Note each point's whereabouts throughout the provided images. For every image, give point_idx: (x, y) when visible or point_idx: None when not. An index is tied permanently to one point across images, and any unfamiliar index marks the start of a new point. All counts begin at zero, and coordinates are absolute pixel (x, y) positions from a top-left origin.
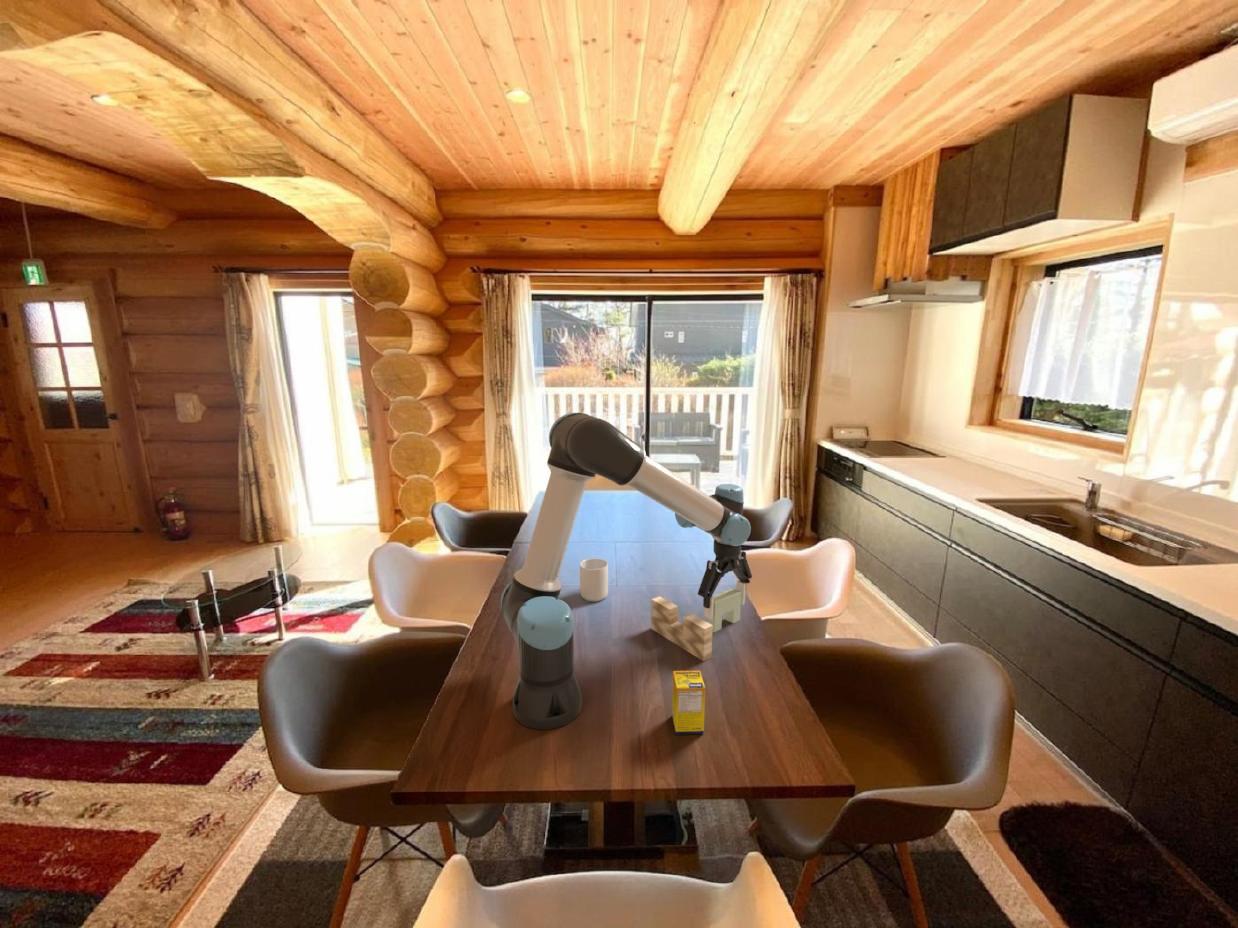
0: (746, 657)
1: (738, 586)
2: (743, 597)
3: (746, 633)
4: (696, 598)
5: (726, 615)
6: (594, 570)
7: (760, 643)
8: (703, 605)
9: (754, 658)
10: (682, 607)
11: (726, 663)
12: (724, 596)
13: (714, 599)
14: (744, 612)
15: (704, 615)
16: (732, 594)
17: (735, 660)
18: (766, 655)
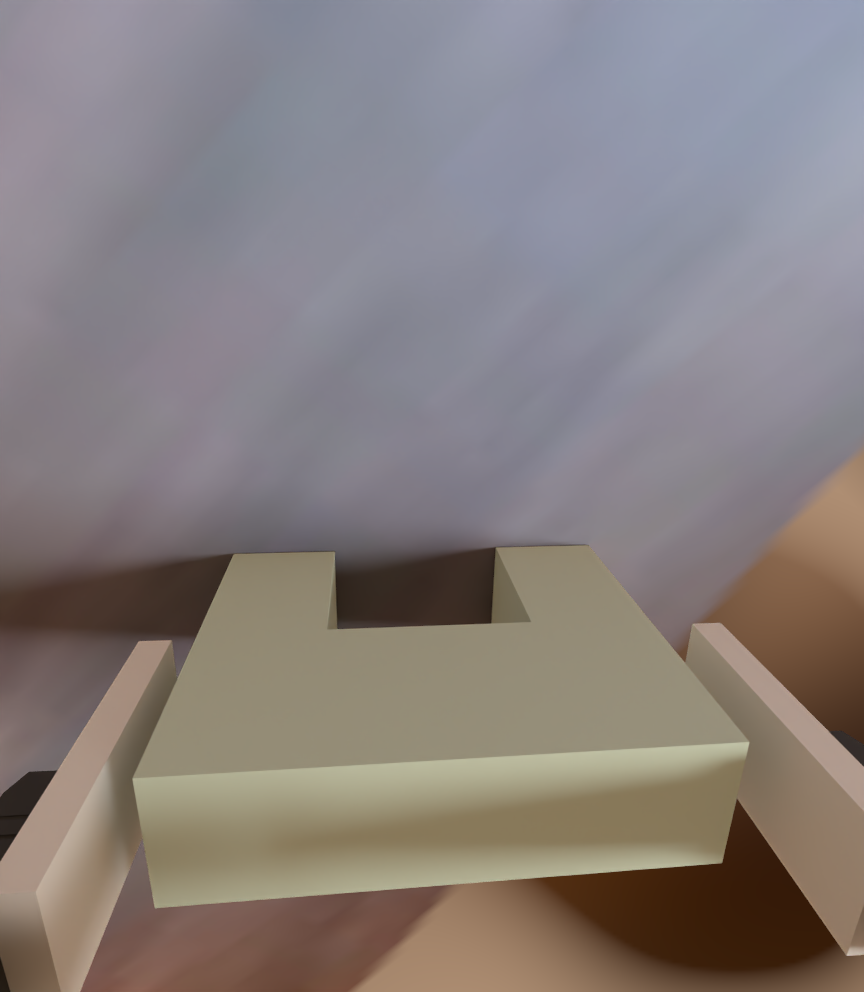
0: (202, 942)
1: (814, 801)
2: None
3: None
4: (645, 6)
5: (503, 582)
6: None
7: (417, 889)
8: (7, 793)
9: (239, 967)
10: (327, 63)
11: None
12: (419, 845)
13: (217, 839)
14: (727, 563)
15: (137, 651)
16: (564, 853)
17: (108, 934)
18: (331, 977)
